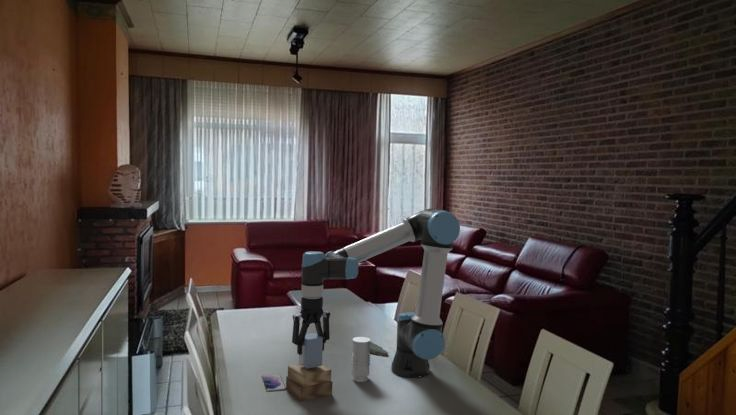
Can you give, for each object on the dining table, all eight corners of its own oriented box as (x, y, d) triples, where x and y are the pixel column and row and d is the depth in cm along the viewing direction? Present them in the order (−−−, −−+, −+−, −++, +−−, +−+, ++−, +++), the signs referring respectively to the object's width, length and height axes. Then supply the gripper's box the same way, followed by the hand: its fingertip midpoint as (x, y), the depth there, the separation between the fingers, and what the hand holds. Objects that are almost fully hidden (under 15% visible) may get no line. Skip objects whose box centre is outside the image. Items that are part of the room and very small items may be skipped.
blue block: (314, 360, 189) (315, 332, 188) (322, 365, 184) (322, 337, 183) (299, 363, 186) (299, 335, 185) (306, 368, 181) (307, 339, 180)
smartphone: (266, 390, 184) (261, 375, 198) (266, 393, 184) (261, 377, 198) (286, 388, 186) (280, 373, 200) (286, 391, 186) (280, 375, 200)
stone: (394, 350, 227) (375, 353, 221) (393, 358, 227) (375, 361, 222) (371, 338, 241) (353, 341, 235) (370, 345, 241) (352, 348, 235)
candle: (368, 375, 202) (370, 336, 202) (369, 382, 195) (371, 342, 195) (350, 375, 202) (352, 336, 201) (351, 382, 195) (352, 342, 194)
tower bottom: (316, 384, 193) (316, 370, 193) (332, 396, 183) (332, 381, 183) (285, 390, 187) (286, 376, 187) (300, 402, 177) (300, 388, 177)
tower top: (314, 371, 193) (314, 360, 193) (331, 380, 184) (331, 369, 184) (287, 377, 186) (287, 366, 186) (303, 387, 177) (304, 375, 177)
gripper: (331, 291, 192) (329, 354, 193) (282, 296, 182) (280, 362, 183) (341, 296, 185) (339, 360, 187) (291, 301, 175) (289, 369, 177)
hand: (310, 361), depth 185 cm, fingers closed on blue block, 6 cm apart
